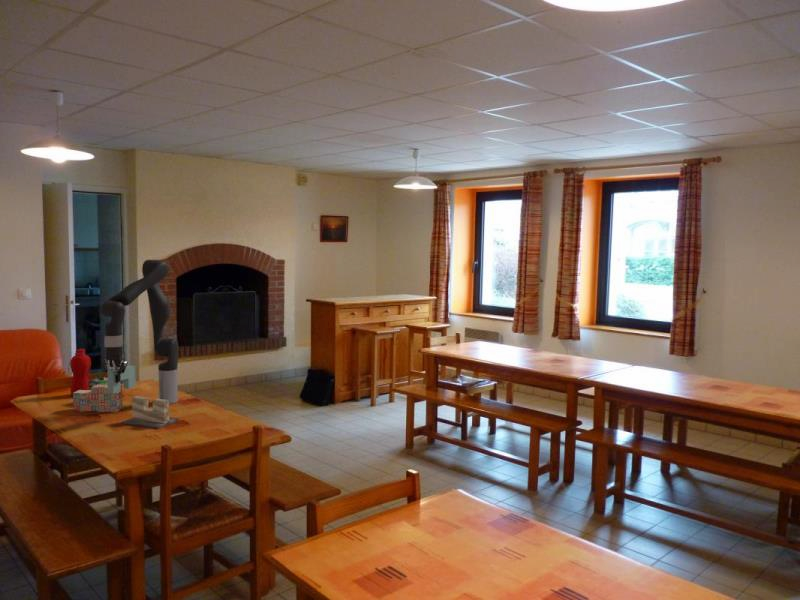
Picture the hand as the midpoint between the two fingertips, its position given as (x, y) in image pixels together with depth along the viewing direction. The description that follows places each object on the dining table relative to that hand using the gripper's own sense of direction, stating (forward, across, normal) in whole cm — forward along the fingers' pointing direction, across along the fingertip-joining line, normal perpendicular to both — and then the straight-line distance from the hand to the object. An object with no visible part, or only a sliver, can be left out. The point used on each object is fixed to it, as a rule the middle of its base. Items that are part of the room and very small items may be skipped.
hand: (114, 381), depth 284 cm
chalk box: (+19, -33, +25) cm, 46 cm away
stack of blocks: (+19, -22, +11) cm, 31 cm away
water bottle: (+19, -53, +30) cm, 64 cm away
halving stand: (+18, +16, +4) cm, 25 cm away
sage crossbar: (+5, 0, +4) cm, 6 cm away
